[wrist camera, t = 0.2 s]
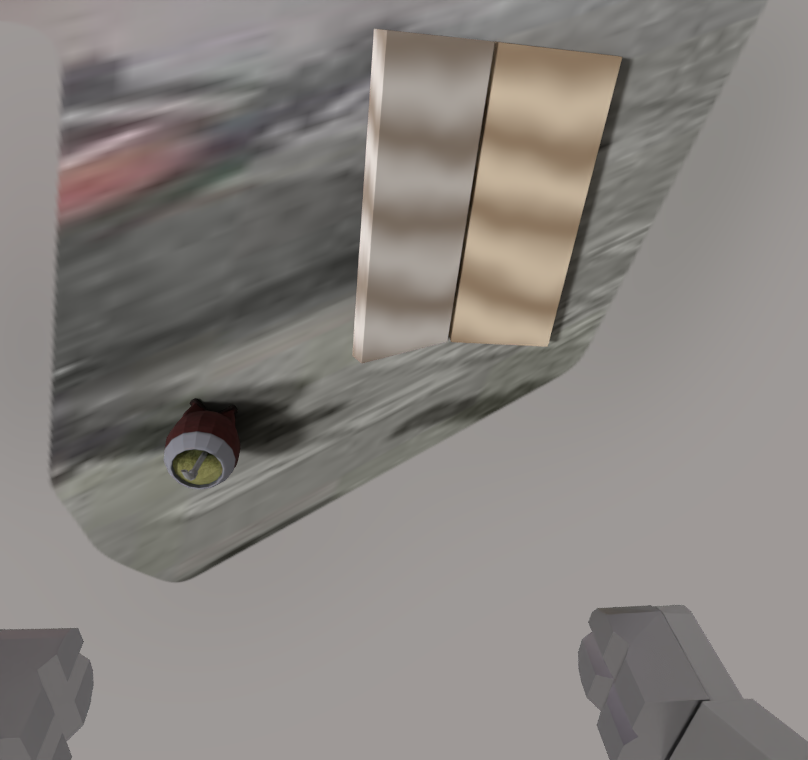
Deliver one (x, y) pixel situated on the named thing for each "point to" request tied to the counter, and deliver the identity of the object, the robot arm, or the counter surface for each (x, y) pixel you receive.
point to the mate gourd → (202, 447)
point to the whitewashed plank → (416, 187)
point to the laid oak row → (529, 190)
